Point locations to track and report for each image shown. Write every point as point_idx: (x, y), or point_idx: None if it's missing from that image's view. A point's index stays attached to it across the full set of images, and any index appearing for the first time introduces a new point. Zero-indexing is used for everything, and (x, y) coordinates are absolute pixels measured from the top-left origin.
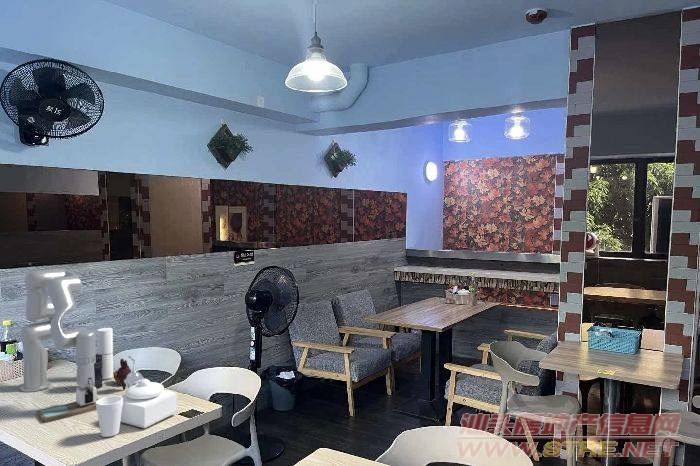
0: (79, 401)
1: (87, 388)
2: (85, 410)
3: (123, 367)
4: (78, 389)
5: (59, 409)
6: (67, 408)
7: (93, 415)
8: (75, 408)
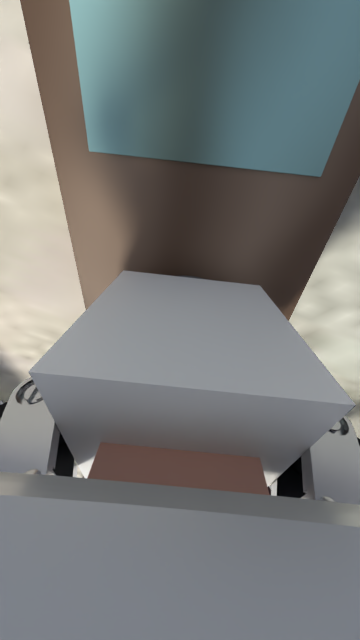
0: (150, 285)
1: (95, 468)
2: (83, 275)
3: None
4: (214, 397)
5: (254, 51)
6: (202, 163)
7: (16, 285)
8: (148, 229)
